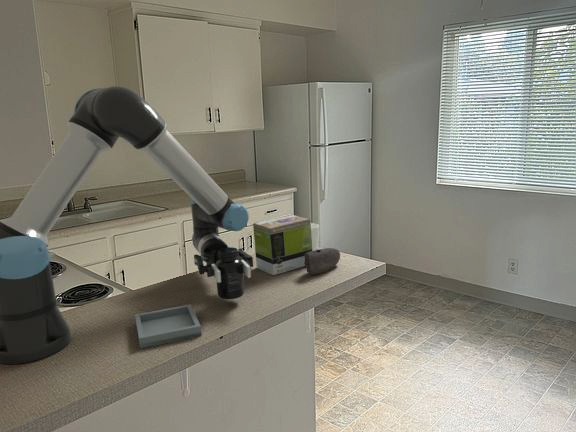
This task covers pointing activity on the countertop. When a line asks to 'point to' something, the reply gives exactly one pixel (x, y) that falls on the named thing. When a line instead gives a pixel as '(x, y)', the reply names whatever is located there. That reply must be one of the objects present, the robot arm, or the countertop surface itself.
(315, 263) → the perforated stone tool
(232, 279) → the supplement bottle
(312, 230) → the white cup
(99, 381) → the countertop surface
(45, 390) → the countertop surface
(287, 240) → the tea box
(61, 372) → the countertop surface
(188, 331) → the tray
